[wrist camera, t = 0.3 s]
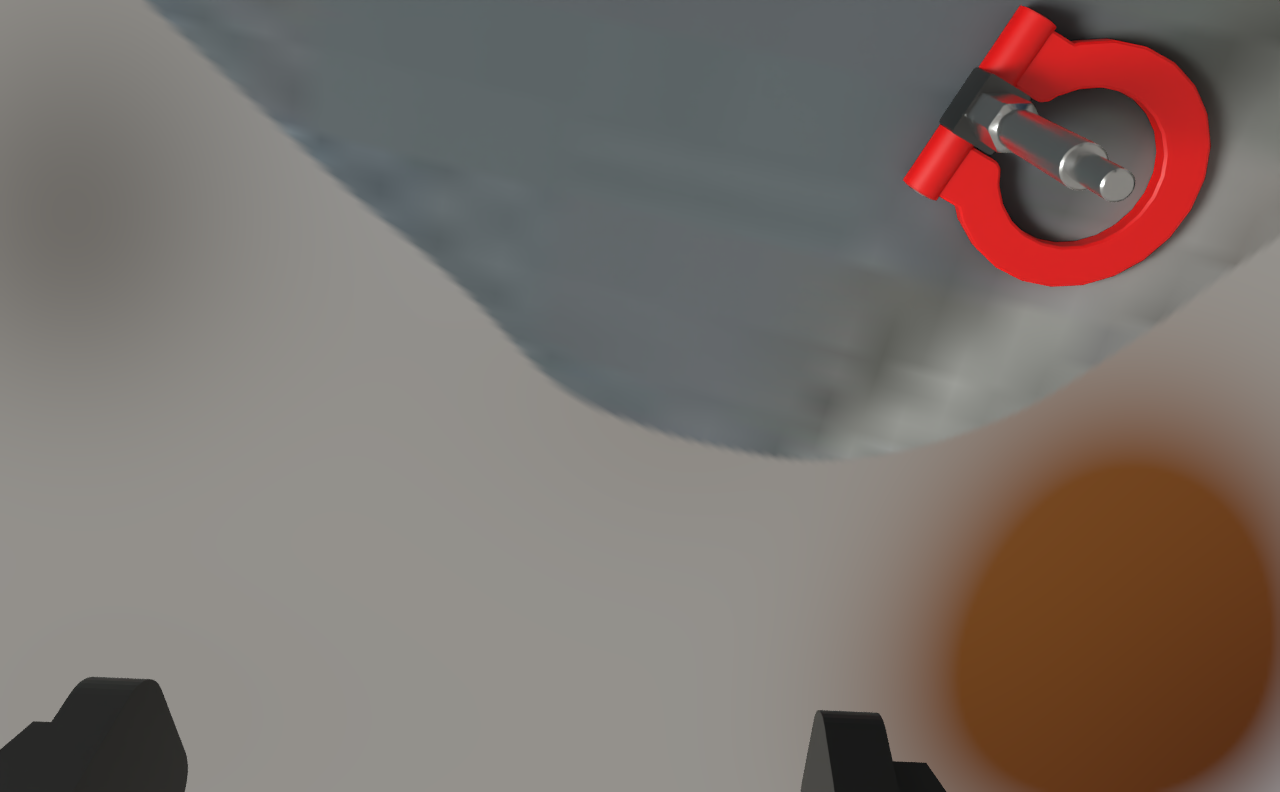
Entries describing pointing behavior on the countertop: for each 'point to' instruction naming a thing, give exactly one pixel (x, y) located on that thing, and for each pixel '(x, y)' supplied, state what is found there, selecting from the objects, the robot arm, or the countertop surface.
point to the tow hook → (1064, 150)
